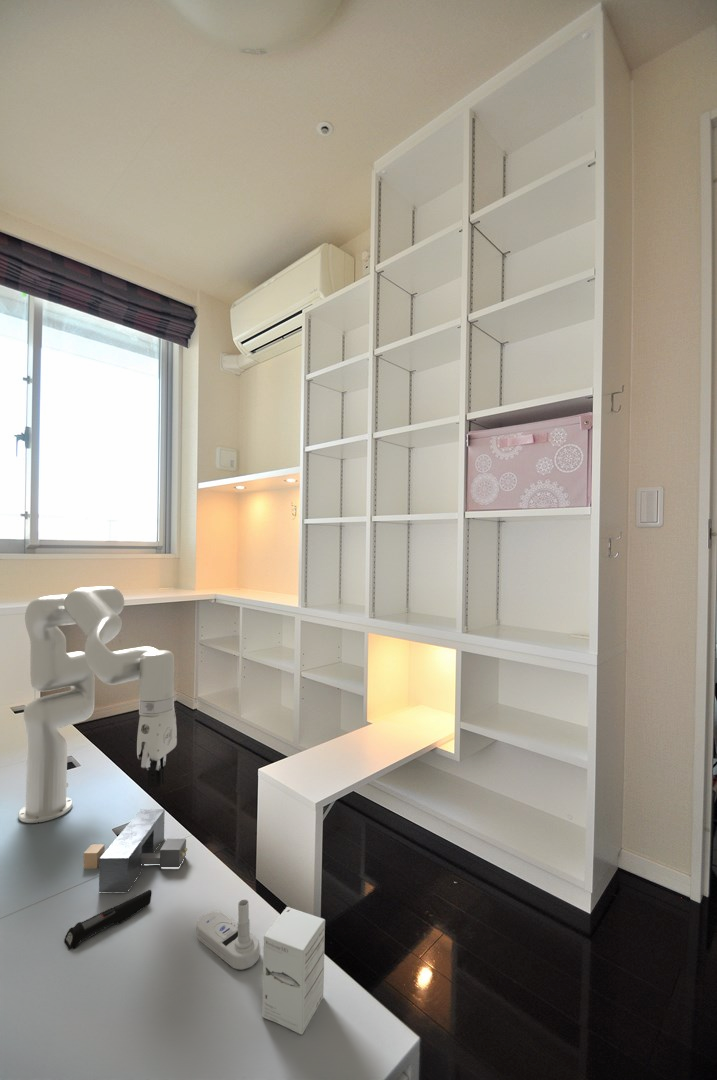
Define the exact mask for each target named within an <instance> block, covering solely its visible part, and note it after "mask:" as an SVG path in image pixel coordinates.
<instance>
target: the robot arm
mask: <svg viewBox="0 0 717 1080" xmlns="http://www.w3.org/2000/svg"><path fill="white" fill-rule="evenodd" d="M124 607H125V599H124V595H123V593H122V592H121V591H120V590H119V589H118V588H116V587H114V586H111V585H109V586H108V585H106V586H89V587H87V586H86V587H79V588H76V589H73V590H71V591H70V592H69V593H67V594H54V595H53V594H52V595H46V596H41V597H37V598H35V599H33V600H31V601H30V602H29V603H28V605H27V606H26V609H25V614H24V621H25V628H26V631H27V634H28V637H29V643H30V655H29V656H30V658H29V659H30V669H29V670H30V684H31V687H32V688H33V690H35V692H36V691H37V692H50V691H54V690H60V689H64V688H68V687H70V690H66V691H62V692H57V693H56V692H55V693H52V694H48V695H44V696H41V697H38V698H35V699H33V700H32V701H30V702H29V703H28V704H27V705H26V707H24V710H23V723H24V728H25V734H26V735H25V736H26V772H25V773H26V777H25V778H26V779H25V782H26V785H25V805H24V806H23V807H22V808H20V810H19V811H18V820H19V821H20V822H22V823H27V824H35V823H36V824H38V822H39V823H44V822H48V821H52V820H55V819H57V818H60V817H61V816H64V815H66V813H68V812H69V811H70V810H71V809H72V807H73V800H72V798H71V797H68V796H67V788H68V787H69V783H68V781H67V778H68V776H67V775H68V774H67V773H68V771H67V770H68V742H67V739H66V738H65V737H64V736H63V735H62V734H61V733H60V729H62V728H65V727H68V726H72V725H75V724H79V723H81V722H84V721H86V720H88V719H89V718H91V716H92V715H93V713H94V711H95V710H94V709H95V704H96V702H95V701H96V700H95V699H96V697H95V695H96V694H95V691H96V690H95V687H96V686H95V685H96V684H95V683H96V682H95V681H96V679H95V676H96V677H97V678H98V680H99V681H101V682H102V683H103V684H106V685H109V686H110V685H111V686H114V685H119V684H120V685H121V684H124V683H127V682H129V683H130V682H132V681H136V680H137V681H138V680H139V681H138V682H139V687H138V688H139V689H138V696H139V697H138V714H139V720H138V726H137V727H138V728H137V735H136V736H137V738H136V739H137V740H136V756H137V759H138V760H139V761H141V762H140V763H141V765H140V767H141V768H142V769H146V770H147V786H148V787H149V788H152V787H153V788H161V787H162V786H163V785H165V766H166V762H167V754H169V753H170V752H172V751H173V750H174V749H175V748H176V746H177V743H178V735H177V733H178V731H177V730H178V729H177V717H176V712H175V711H176V709H175V655H174V653H173V652H172V651H171V650H167V649H158V648H156V647H153V646H150V645H146V646H137V647H131V648H126V649H120V650H115V651H111V650H110V649H109V648H108V647H107V646H106V644H108V643H109V642H111V641H112V640H113V639H115V637H116V636H117V635H119V633H120V631H121V630H122V625H123V621H122V618H121V617H120V616H119V615H120V614H121V613H122V611H123V610H124ZM68 625H76V626H78V627H79V628H80V630H81V631H82V632H83V633H84V634H85V636H86V637H87V638H86V641H85V645H84V651H79V650H78V651H72V652H67V637H66V636H65V634H64V632H63V631H62V630H61V628H59V627H60V626H68Z"/></svg>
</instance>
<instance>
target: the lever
mask: <svg viewBox="0 0 717 1080" xmlns="http://www.w3.org/2000/svg"><path fill="white" fill-rule="evenodd" d="M187 851H188V848H187V838H166V840H165V842H164V843H163V845H162V847H161V848H160V850H159V852H155V853H142V858H141V864H142V865H144V864H160V866H159V869H160V868H161V867H179V866H180V864H181V863H182V861H183V859H184V858H185V856H186V857H187ZM104 852H105V843H103V844H100V843H98V844H95V843H94V844H91V845H89V846H88V848H87V849H86V850H85V851H84V852H83V866H82V867H83V869H98V867H99V862H100V857H101V856H102V855H103V854H104ZM185 859H186V858H185Z"/></svg>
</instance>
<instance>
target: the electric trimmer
mask: <svg viewBox="0 0 717 1080" xmlns="http://www.w3.org/2000/svg"><path fill="white" fill-rule="evenodd" d="M152 894H153V893H152V890H151V889H148V890H146V891H144V892H142V893H140V894H138V895H135V896H133V897H131V898H129V899H127V900H124V901H123V902H121V903H118V904H117V905H114V906H112V907H110V908H108V909H106V910H103V911H102V912H99V913H98V914H96V915H93V916H91V917H89V918H87V919H85V920H83V921H79V922H77V923H76V924H75V925H74V926H72V927H70V928H69V929H68V930H67V932H66V934H65V936H64V941H63V942H64V944H65V946H66V948H67V949H68V950H69V951H70V950H72V949H73V950H75V949H77V947H78V945H79V944H80V943H81V942H84V941H85V940H87V939H89V938H90V937H93V936H94V935H95V934H98V933H99V932H101V931H104V930H105V929H107V928H108V927H110V926H113V925H117V924H122V923H123V922H124V921H126V920H128V919H129V918H131V917H132V916H134V915H135V914H137V913H138V912H140V911H141V910H143V909H144V908H146V907H147V906H149V904H150V903H151V899H152Z"/></svg>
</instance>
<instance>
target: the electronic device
mask: <svg viewBox="0 0 717 1080" xmlns="http://www.w3.org/2000/svg"><path fill="white" fill-rule="evenodd" d="M237 905H238V913H237V915H238V920H237V922H236V921H235V920H233V919H232V918H230V917H229V916H228V915H227V914H225V913H224V912H222V911H218V910H217V911H216V910H215V911H210V912H207V913H205V914H204V915H202V916H201V917H200V918H199V919H198V921H197V922H196V923H197V924H196V937H197V939H198V940H199V942H201V943H202V944H203V945H204V946H205V947H206V948H208V949H209V950H210V951H212V952H213V953H214V954H216V956H217V957H219V958H220V959H221V960H223V961H224V962H225V963H226V964H228V965H229V966H230V967H231V968H233V969H235V970H240V971H242V970H246V969H249V968H251V967H253V966H254V965H255V964H256V963H257V961H258V960H259V959H260V955H261V954H260V952H261V950H260V949H261V948H260V946H261V945H260V940H259V938H258V937H257V936H256V935H254V934H253V933H251V931H250V930H251V929H250V917H249V915H250V914H249V900H248V899H241V900H239V902H238V903H237Z"/></svg>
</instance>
